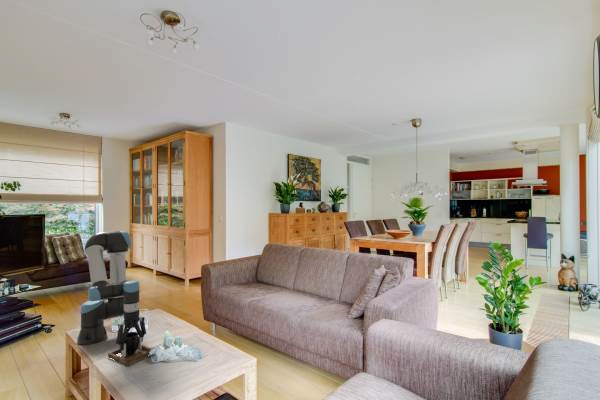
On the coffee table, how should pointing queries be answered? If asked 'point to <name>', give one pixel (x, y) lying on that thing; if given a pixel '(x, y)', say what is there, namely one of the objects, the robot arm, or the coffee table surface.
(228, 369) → the coffee table surface
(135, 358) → the tray
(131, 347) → the mug
